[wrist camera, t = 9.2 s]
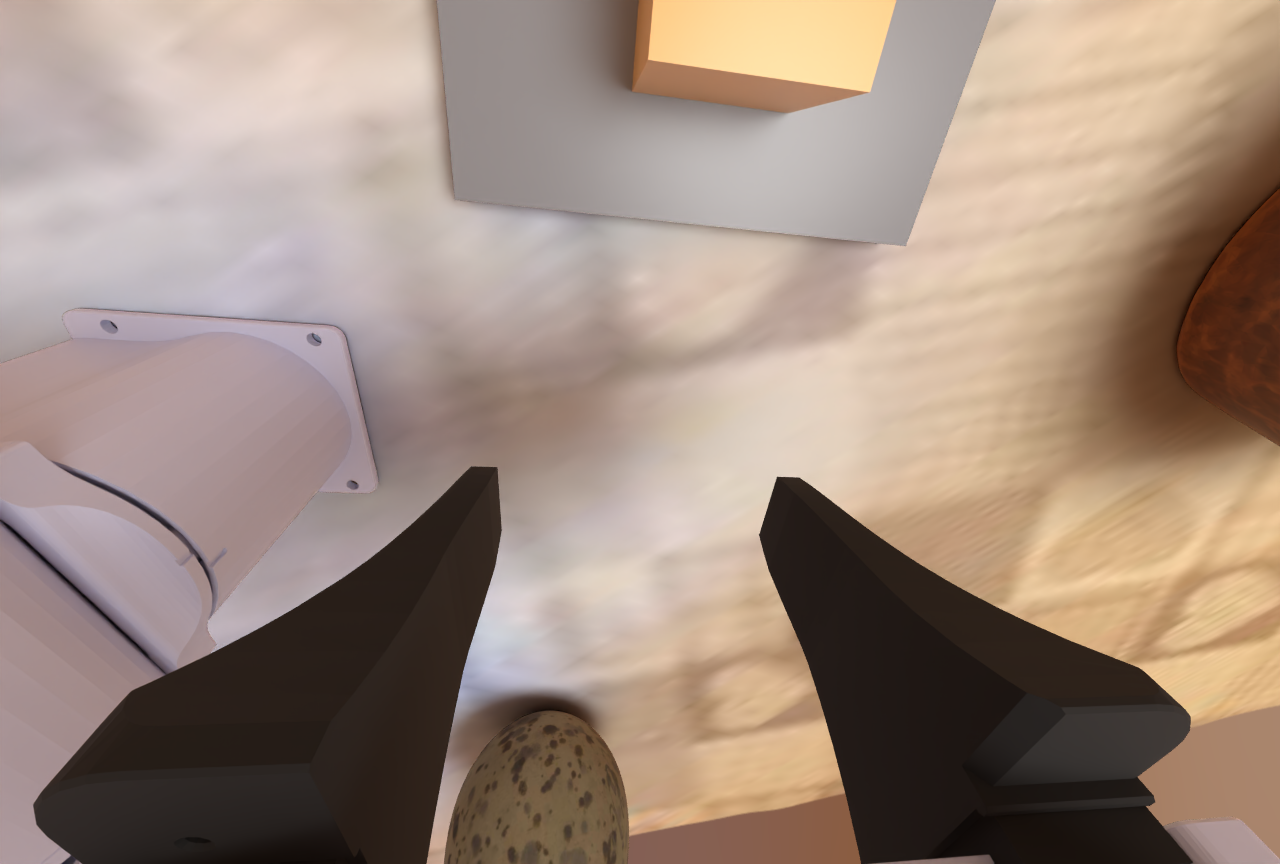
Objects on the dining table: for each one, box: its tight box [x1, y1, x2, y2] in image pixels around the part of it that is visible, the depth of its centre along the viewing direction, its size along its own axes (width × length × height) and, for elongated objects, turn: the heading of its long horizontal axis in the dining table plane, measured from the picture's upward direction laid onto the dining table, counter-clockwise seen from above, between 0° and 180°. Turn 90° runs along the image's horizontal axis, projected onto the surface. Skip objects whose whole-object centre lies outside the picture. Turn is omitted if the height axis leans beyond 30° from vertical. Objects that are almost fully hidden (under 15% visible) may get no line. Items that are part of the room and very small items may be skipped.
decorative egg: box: [444, 711, 629, 864], centre depth 27 cm, size 11×11×15 cm
